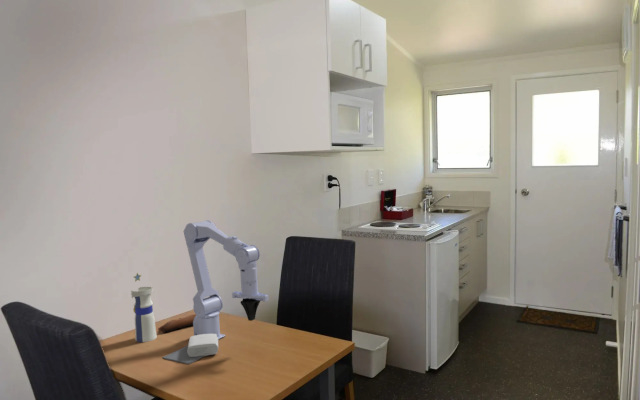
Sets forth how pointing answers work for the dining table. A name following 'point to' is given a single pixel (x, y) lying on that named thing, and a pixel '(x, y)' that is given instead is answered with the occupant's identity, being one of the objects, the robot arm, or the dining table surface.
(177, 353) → the topple mat
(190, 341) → the photo printer
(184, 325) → the sunglasses case
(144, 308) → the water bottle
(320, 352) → the dining table surface
